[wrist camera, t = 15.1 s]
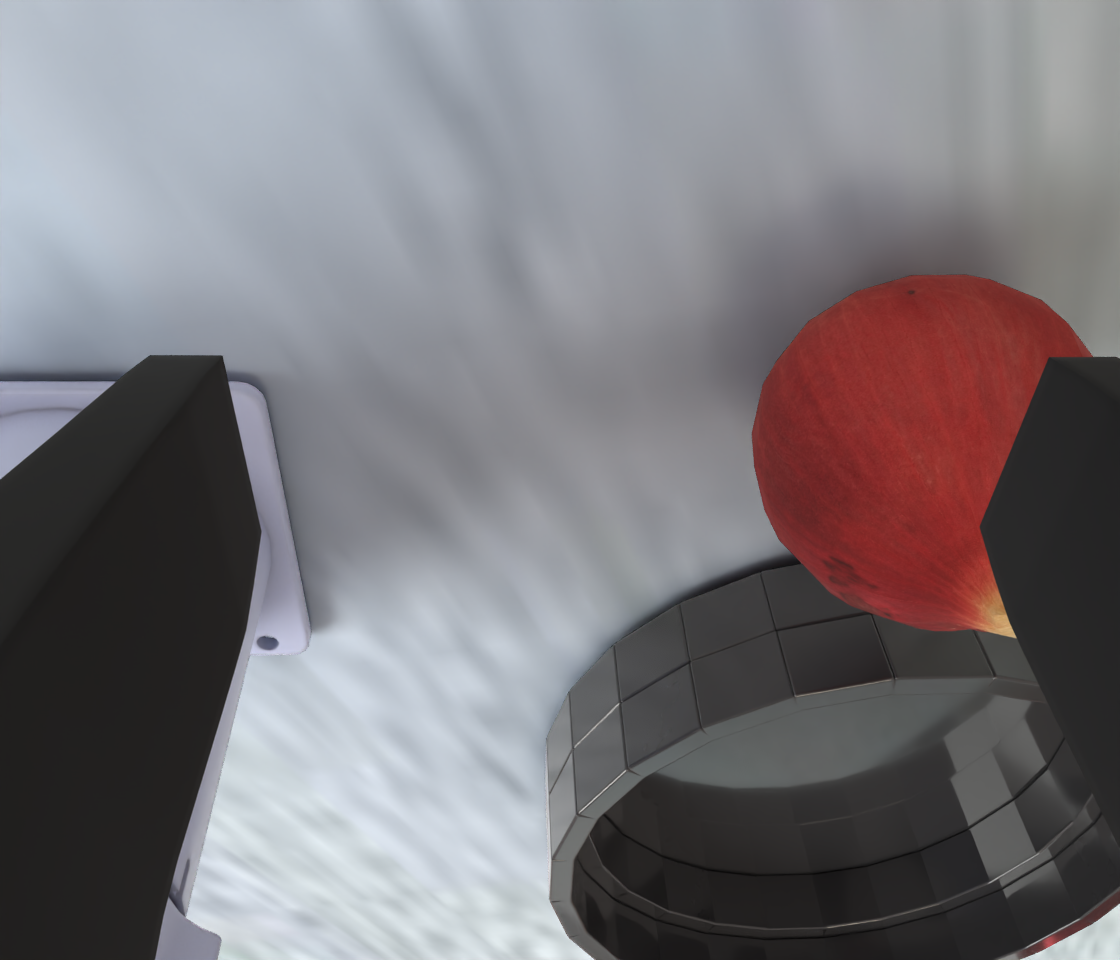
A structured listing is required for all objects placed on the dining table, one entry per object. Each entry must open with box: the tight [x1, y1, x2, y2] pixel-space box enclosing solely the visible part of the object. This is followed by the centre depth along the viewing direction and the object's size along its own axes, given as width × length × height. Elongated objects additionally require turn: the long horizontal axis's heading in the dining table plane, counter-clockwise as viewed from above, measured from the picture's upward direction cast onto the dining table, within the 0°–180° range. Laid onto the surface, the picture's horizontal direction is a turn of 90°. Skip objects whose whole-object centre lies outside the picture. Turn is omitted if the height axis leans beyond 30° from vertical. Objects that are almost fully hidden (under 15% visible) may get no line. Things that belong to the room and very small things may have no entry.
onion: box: [752, 275, 1093, 638], centre depth 17 cm, size 6×6×8 cm
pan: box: [545, 564, 1120, 960], centre depth 28 cm, size 16×16×4 cm
